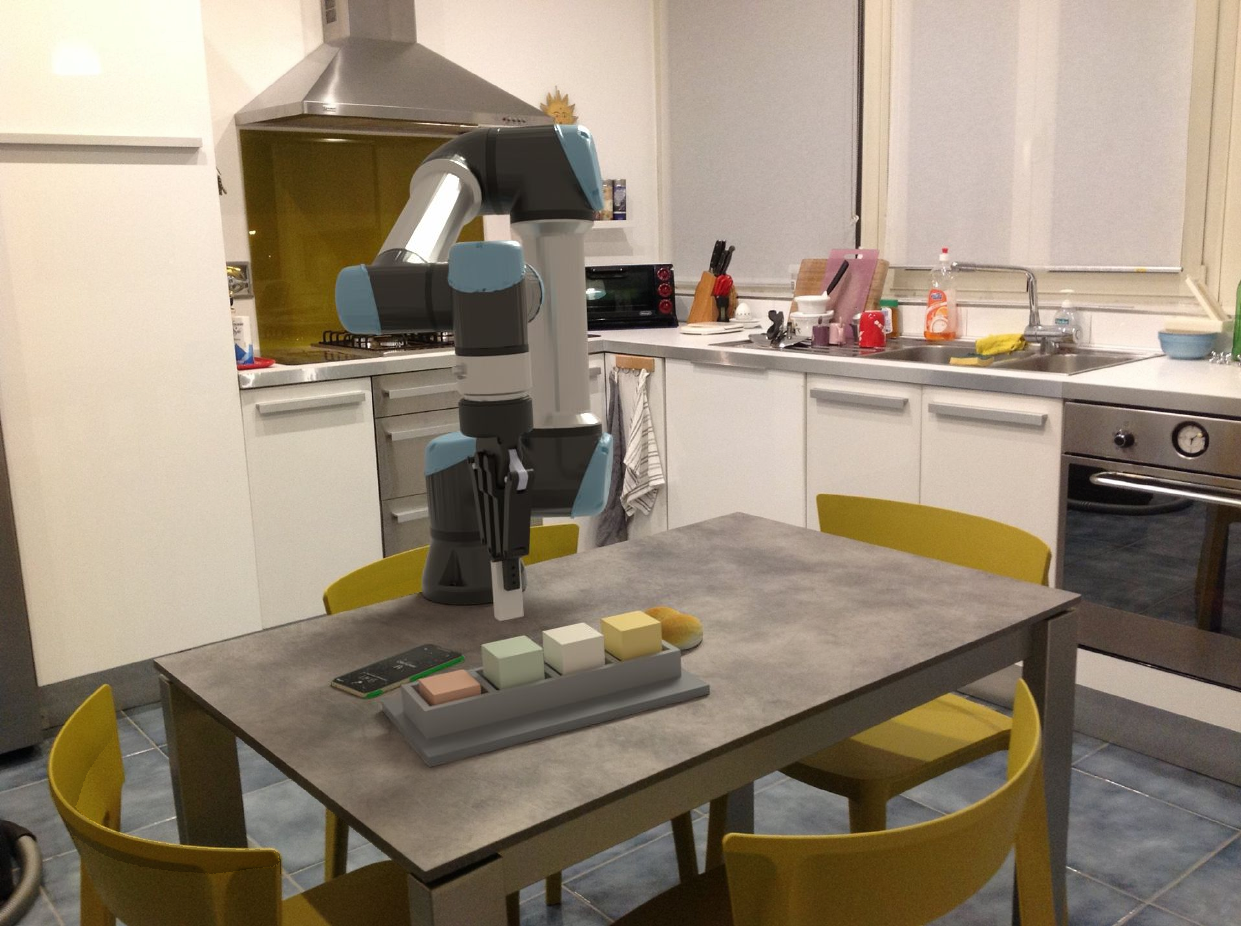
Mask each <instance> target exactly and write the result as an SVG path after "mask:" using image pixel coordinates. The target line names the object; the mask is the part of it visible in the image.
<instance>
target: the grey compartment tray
mask: <svg viewBox="0 0 1241 926" xmlns="http://www.w3.org/2000/svg"><path fill="white" fill-rule="evenodd" d="M681 651H682V650H680V649H678V648H676V647H674V646H673V645H671V644H669V643H668V642H666V641H664V640H662V652H658V653H653V654H649V655H645V656H641V657H637V658H632V659H628V660H624V661H621V660H620V659H618V658H617V657H615V656H614V655H612V654H611V653H609V652H608V651H606V650H604V654H605V665H603V666H599V667H595V668H590V669H586V670H582V671H578V672H574V673H569V674H565V675H562V674H561V673H559V672H558V671H557V670H555V669H554V668H553V667H551V666H550V665H549V664H547V663H546V662H545V661H544V675H545V679H544V680H540V681H536V682H531V683H527V684H523V685H519V686H515V687H510V688H506V689H502V690H500V689H499V688H497V687H496V686H495V685H494V684H493V683H492V682H491V681H490V680H488V679H487V678H486V677H485V676H484V674H483V666H478V667H474V668H470V669H467V670H466V669H464V670H465V671H466V672H467V673H468V674H469V675H471V676H472V677H473V678H474V679H475V680H476V681H477V682H478V683H479V684H480V686H481V695H477V696H473V697H468V698H464V699H460V700H456V701H452V702H447V703H443V704H439V705H435V706H431V707H430V706H429V705H428V704H427V703H426V702H425V701H424V700H423V698H422V697H421V696H420V691H419V680H415V681H413V682H409V683H406V684H403V685H401V687H400V689H401V696H399V697H395V698H389V699H386V700H381V710H382V712H383V713H384V714H385V715H386V716H387V717H388V718H389V720H390V721H391V722H392V723H393V725H394V726H395V727H396V729H397V730H398V731H399V732H400V733H401V734H402V736H403V737H404V738H405V739H406V740H407V742H408V743H409V744H410V745H411V747H413V749H414V750H415V751H416V753H417V754H418V755H419V756H420V757H421V758H422V759H421V760H423V761H424V762H425V764H426V765H427V766H428V767H429V768H431V767H435V766H440V765H443V764H447V763H449V762H451V763H452V762H455V761H458V760H462V759H467V758H469V757H472V756H473V757H474V756H477V755H481V754H485V753H489V752H492V751H493V752H494V751H496V750H500V749H503V748H507V747H510V746H515V745H518V744H523V743H526V742H531V741H534V740H538V739H542V738H545V737H550V736H552V735H557V734H561V733H564V732H568V731H571V730H572V731H573V730H576V729H579V728H584V727H587V726H591V725H592V726H593V725H595V724H598V723H602V722H603V723H604V722H607V721H610V720H614V719H618V718H621V717H626V716H630V715H632V714H637V713H640V712H644V711H648V710H652V709H656V708H659V707H662V706H667V705H671V704H675V703H679V702H683V701H687V700H690V699H695V698H698V697H702V696H705V695H709V694H710V693H711V687H710V686H711V684H709V683H708V682H706V681H704V680H702V679H701V678H699V677H698V676H696V675H694V674H693V673H692V672H689V670H686V669H684V668H683V667H682V656H681V655H682V654H681ZM543 659H544V652H543Z"/></svg>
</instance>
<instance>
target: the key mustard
mask: <svg viewBox="0 0 1241 926" xmlns="http://www.w3.org/2000/svg"><path fill="white" fill-rule="evenodd" d="M643 612H644V611H642V610H635V611H630V612H625V613H621V614H617V615H613V616H607V617H604V618H603V617H602V618H600V627H601V628H600V630H601V631H600V633H601V634H602V635H604V650H606V651H608V652H609V653H611V654H612V655H614V656H615V657H617V658H618V659H620V660H621V661H624V660H628V659H632V658H637V657H641V656H645V655H649V654H653V653H658V652H662V633H661V622H659V621H658V620H656V619H654V618H652V617H650V616H649V615H647V614H645V613H643Z"/></svg>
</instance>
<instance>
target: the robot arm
mask: <svg viewBox="0 0 1241 926" xmlns="http://www.w3.org/2000/svg"><path fill="white" fill-rule="evenodd" d="M600 167H601V166H600V162H599V157H598V151H597V149H596V144H595V141H594V138H593V136H592V133H591V131H590V130H589V129H588V128H587V127H585V126H583V125H580V124H559V123H553V124H541V125H528V126H527V125H526V126H513V127H511V126H510V127H497V128H496V127H495V128H491V127H490V128H489V127H487V128H486V127H485V128H479V129H475V130H471V131H468V132H465V133H463V134H459V135H458V136H455V137H453V138H452V139H450V140H449V141H447V142H445V143H443V144H441V145H440V146H439V147H438V148H436V149H435V150H434V151H432V152H431V153H430V154H429V155H428V156H427V157H425V158H424V160H423V161H422V162H421V163H420V164H419V166H418V167H417V168H416V170H415V172H414V173H413V175H412V178H411V181H410V184H409V199H408V200H407V202H406V204H405V206H404V207H403V209H402V211H401V213H400V215H399V216H398V218H397V220H396V221H395V222H394V225H393V227H392V229H391V230H390V232H389V234H388V236H387V237H386V239H385V240H384V243H383V245H382V247H381V248H380V250H379V251H378V254H377V255H376V257H375V258H374V260H373V261H372V263H371V264H365V263H360V264H359V265H354V266H353V265H352V266H351V265H350V266H347V267H343V268H342V269H341V270H340V272H339V273H338V274H337V278H336V280H335V281H336V282H335V287H334V289H335V290H334V299H335V307H336V312H337V316H338V319H339V322H340V324H341V325H342V327H343V329H344V330H346V331H347V332H349V333H351V334H355V335H376V336H382V335H393V334H410V333H411V334H414V333H415V334H416V333H433V332H434V333H435V332H442V333H444V332H453V342H454V354H455V356H454V357H455V358H454V359H455V365H454V366H452V367H451V372H452V375H454V376H456V384H457V385H456V386H457V392H458V393H459V394H460V395H463V397H462V398H460V400H459V402H458V403H457V405H458V407H457V409H458V420H459V421H458V422H459V430H457V431H452V432H450V433H446V434H442V435H439V436H437V437H435V438H433V439H431V441H429V442H428V443H427V444H426V447H425V448H424V471H423V476H424V477H425V488H426V489H425V490H426V500H427V513H428V523H429V535H430V540H429V541H430V542H429V546H428V551H427V556H426V558H425V563H424V567H423V571H422V575H421V588H422V589H421V591H422V596H423V597H424V598H426V599H428V601H432V602H435V603H438V604H446V605H476V604H479V605H480V604H485V603H486V604H487V603H492V602H493V612H494V613H493V614H494V618H495V619H496V620H498V621H499V622H501V621H507V620H511V619H517V618H521V617H524V604H523V603H524V601H523V600H524V599H523V591H524V590H525V589H527V586H528V579H527V569H526V567H525V564H524V561H523V559H522V558H523V557H526V556H529V555H530V543H531V523H532V522H531V519H542V518H543V519H547V518H551V519H552V518H569V519H571V520H574V519H575V518H581V517H583V518H584V517H595V516H598V515H600V514H601V513H602V512H603V511H604V510H605V508H606V506H607V503H608V499H609V495H610V494H609V493H610V488H611V481H612V480H611V479H612V473H613V472H612V471H613V462H614V461H613V460H614V438H613V435H612V434H610V433H608V432H603V422H602V420H601V418H600V417H598V416H597V415H596V414H595V413H594V412H593V410H592V409H591V385H590V383H591V382H590V366H589V365H590V361H589V334H588V312H587V311H588V310H587V287H586V283H587V282H586V263H585V261H586V260H585V237H586V235H587V234H588V233H589V232H590V231H591V230H592V228H593V227H594V226H595V213H599V212H600V211H603V209H605V205H606V204H605V197H604V196H605V195H604V186H603V184H604V183H603V178H602V174H601V168H600ZM507 215H508V216H509V222H510V223H509V224H510V225H509V226H510V229H511V230H513V232H514V233H515V234H516V235H518V236H519V238H520V240H521V243H520V242H519V241H516V240H512V239H511V240H509V239H508V240H507V239H506V240H505V239H504V240H483V241H464V242H463V241H462V242H457V240H458V239H459V236H460V235H461V232H462V230H463V227H464V226H466V225H467V224H469V223H470V222H472V221H473V220H474V219H475V217H482V216H507ZM527 392H528V394H527Z"/></svg>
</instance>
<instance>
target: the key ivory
mask: <svg viewBox="0 0 1241 926" xmlns="http://www.w3.org/2000/svg"><path fill="white" fill-rule="evenodd" d="M542 642H543V645H542V646H543V653H544V661H545V662H546V663H547V664H549V665H550V666H551V667H553V668H554V669H555V670H557V671H558V672H559V673H561V674H562V675H565V674H569V673H574V672H578V671H582V670H586V669H590V668H595V667H599V666H603V665H605V654H604V635H602V634H601V632H599V631H598V630H596V629H595V628H593V627H591V626H589V625H588V624H587V623H585V622H579V623H574V624H570V625H566V626H561V627H558V628H552V629H548V630H543V631H542Z"/></svg>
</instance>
